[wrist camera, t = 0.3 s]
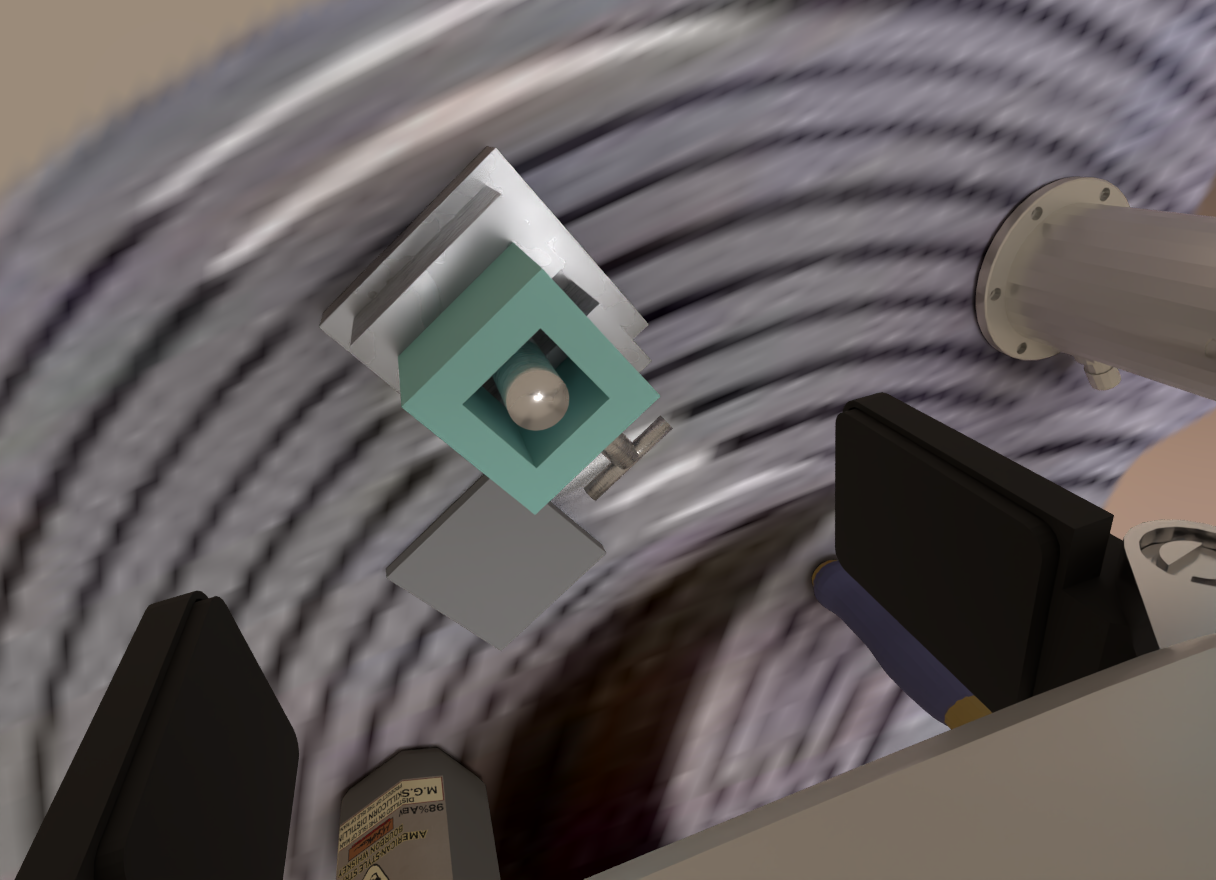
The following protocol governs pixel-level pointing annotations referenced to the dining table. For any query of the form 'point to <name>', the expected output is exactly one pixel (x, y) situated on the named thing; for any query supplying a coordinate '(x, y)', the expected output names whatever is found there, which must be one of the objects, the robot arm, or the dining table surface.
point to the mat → (495, 562)
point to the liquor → (417, 822)
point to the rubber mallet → (896, 649)
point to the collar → (481, 343)
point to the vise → (451, 260)
